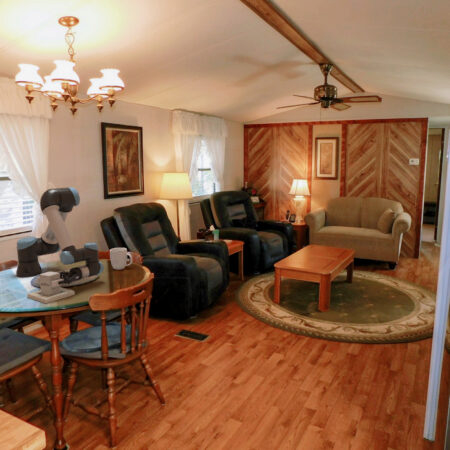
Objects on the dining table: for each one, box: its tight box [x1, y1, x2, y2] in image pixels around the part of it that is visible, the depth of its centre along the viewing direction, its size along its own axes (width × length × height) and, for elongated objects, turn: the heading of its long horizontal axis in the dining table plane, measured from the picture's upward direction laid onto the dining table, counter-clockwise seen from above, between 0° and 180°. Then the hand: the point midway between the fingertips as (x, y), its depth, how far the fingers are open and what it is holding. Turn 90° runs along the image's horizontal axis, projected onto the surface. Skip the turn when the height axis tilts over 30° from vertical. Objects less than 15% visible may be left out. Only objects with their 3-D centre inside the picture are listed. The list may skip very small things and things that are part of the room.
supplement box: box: [39, 270, 62, 297], centre depth 226 cm, size 7×7×13 cm
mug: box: [109, 247, 133, 271], centre depth 281 cm, size 15×11×13 cm
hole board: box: [26, 286, 76, 304], centre depth 227 cm, size 17×17×2 cm
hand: (44, 282), depth 223 cm, fingers open, 13 cm apart
